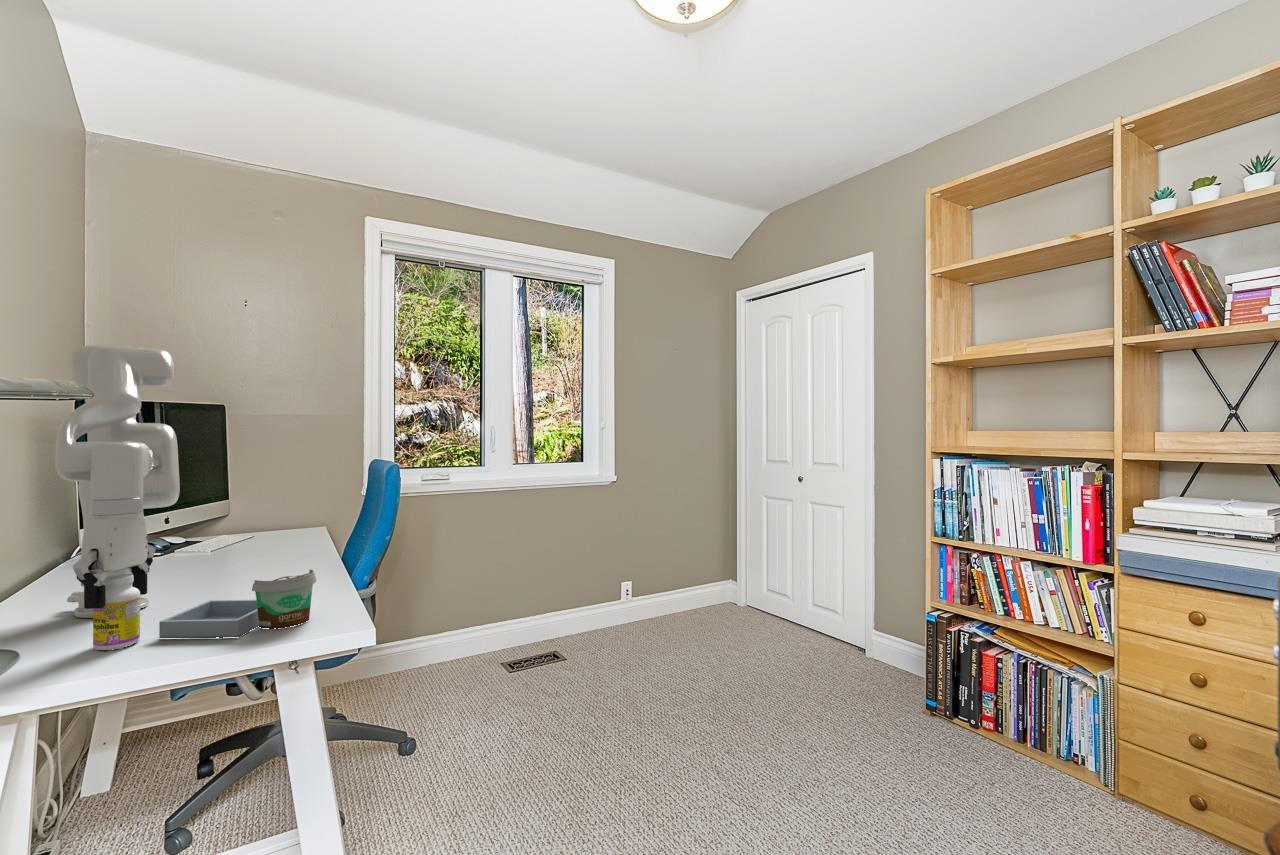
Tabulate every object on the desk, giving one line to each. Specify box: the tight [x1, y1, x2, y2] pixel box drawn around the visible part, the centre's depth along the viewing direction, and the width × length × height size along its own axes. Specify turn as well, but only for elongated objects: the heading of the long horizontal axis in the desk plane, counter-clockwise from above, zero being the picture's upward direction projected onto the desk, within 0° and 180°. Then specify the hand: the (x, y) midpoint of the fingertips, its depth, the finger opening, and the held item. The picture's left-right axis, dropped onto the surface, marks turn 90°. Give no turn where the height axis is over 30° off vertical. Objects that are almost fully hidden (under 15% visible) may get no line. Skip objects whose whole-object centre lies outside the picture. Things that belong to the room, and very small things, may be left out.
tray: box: [158, 599, 259, 638], centre depth 124 cm, size 15×15×4 cm
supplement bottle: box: [92, 574, 141, 651], centre depth 113 cm, size 7×7×13 cm
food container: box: [251, 568, 317, 630], centre depth 126 cm, size 12×6×10 cm, turn 148°
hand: (117, 601), depth 113 cm, fingers open, 9 cm apart
